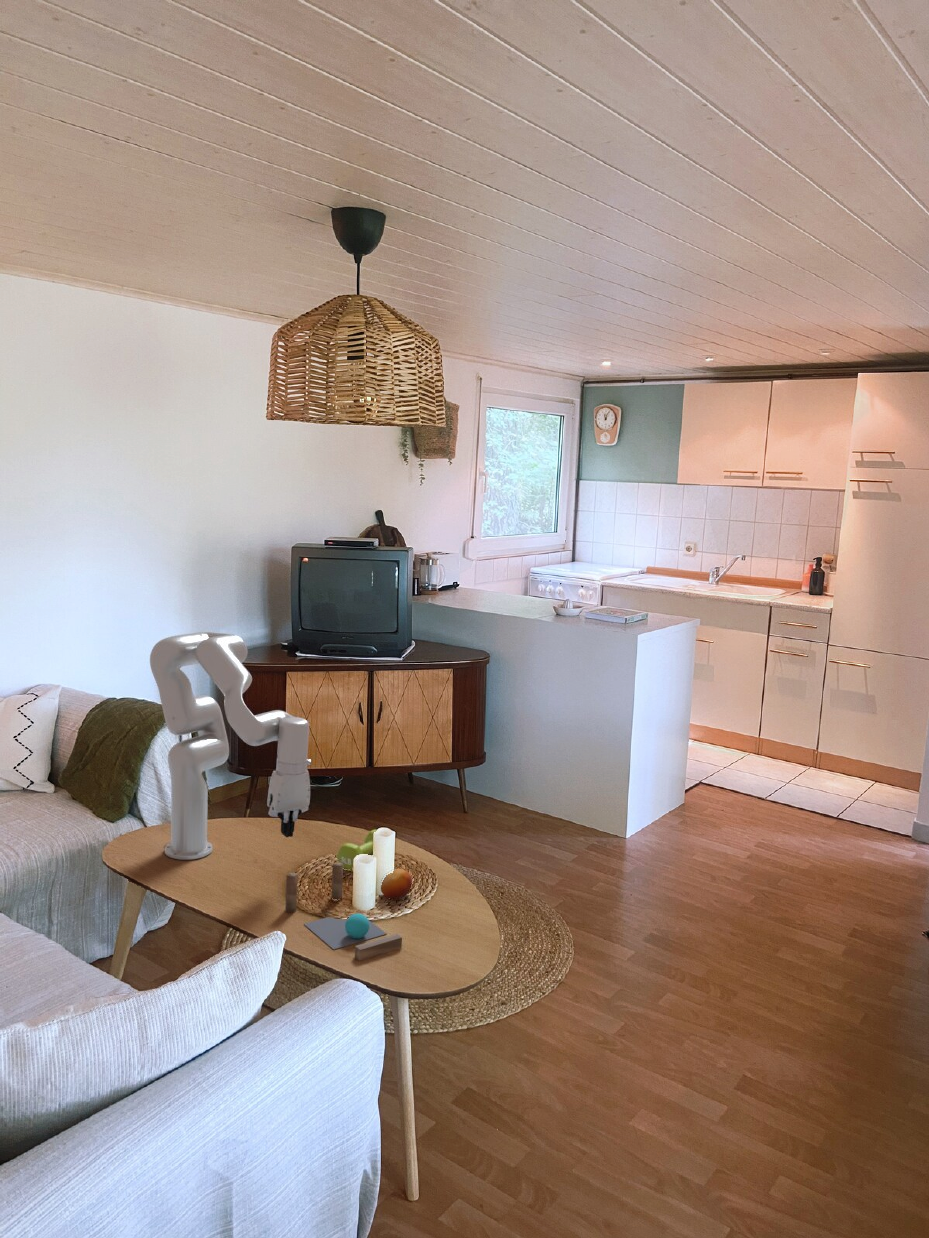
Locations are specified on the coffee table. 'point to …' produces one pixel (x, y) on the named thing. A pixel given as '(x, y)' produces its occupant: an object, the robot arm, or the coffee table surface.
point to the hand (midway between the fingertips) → (287, 834)
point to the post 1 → (291, 892)
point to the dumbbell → (355, 851)
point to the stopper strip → (378, 947)
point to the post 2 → (337, 880)
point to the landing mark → (340, 932)
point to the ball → (357, 926)
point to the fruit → (397, 884)
